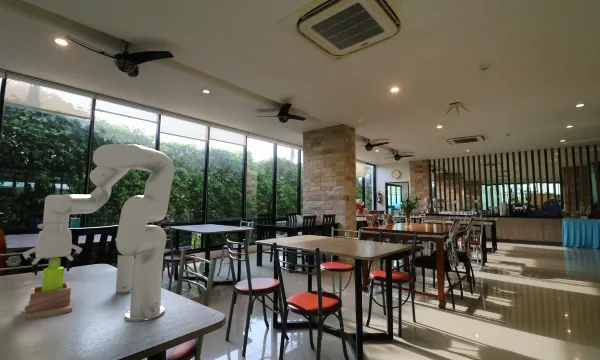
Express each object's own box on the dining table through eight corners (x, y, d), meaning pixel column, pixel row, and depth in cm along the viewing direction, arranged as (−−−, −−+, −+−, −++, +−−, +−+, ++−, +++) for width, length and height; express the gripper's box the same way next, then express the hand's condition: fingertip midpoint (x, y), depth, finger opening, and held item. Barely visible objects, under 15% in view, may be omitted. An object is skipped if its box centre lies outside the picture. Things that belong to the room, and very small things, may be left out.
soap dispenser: (33, 305, 103) (38, 250, 105) (56, 300, 109) (61, 248, 111) (41, 308, 100) (46, 252, 102) (64, 302, 106) (68, 249, 108)
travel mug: (127, 294, 121) (129, 248, 122) (112, 294, 121) (115, 247, 123) (136, 290, 127) (138, 245, 129) (121, 290, 127) (124, 245, 129)
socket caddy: (72, 311, 102) (73, 290, 102) (26, 320, 93) (28, 297, 94) (68, 297, 116) (69, 279, 117) (28, 304, 108) (29, 285, 109)
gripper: (23, 228, 99) (19, 278, 97) (85, 226, 111) (82, 270, 109) (24, 227, 104) (20, 274, 103) (83, 225, 116) (80, 267, 114)
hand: (52, 272), depth 106 cm, fingers open, 8 cm apart
